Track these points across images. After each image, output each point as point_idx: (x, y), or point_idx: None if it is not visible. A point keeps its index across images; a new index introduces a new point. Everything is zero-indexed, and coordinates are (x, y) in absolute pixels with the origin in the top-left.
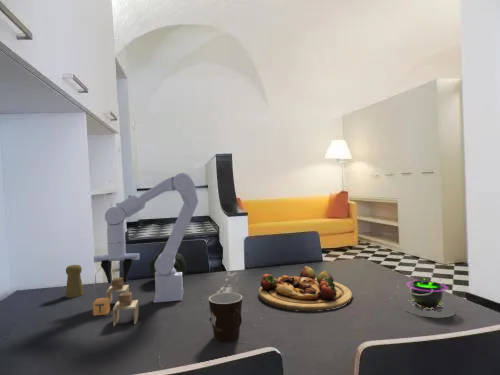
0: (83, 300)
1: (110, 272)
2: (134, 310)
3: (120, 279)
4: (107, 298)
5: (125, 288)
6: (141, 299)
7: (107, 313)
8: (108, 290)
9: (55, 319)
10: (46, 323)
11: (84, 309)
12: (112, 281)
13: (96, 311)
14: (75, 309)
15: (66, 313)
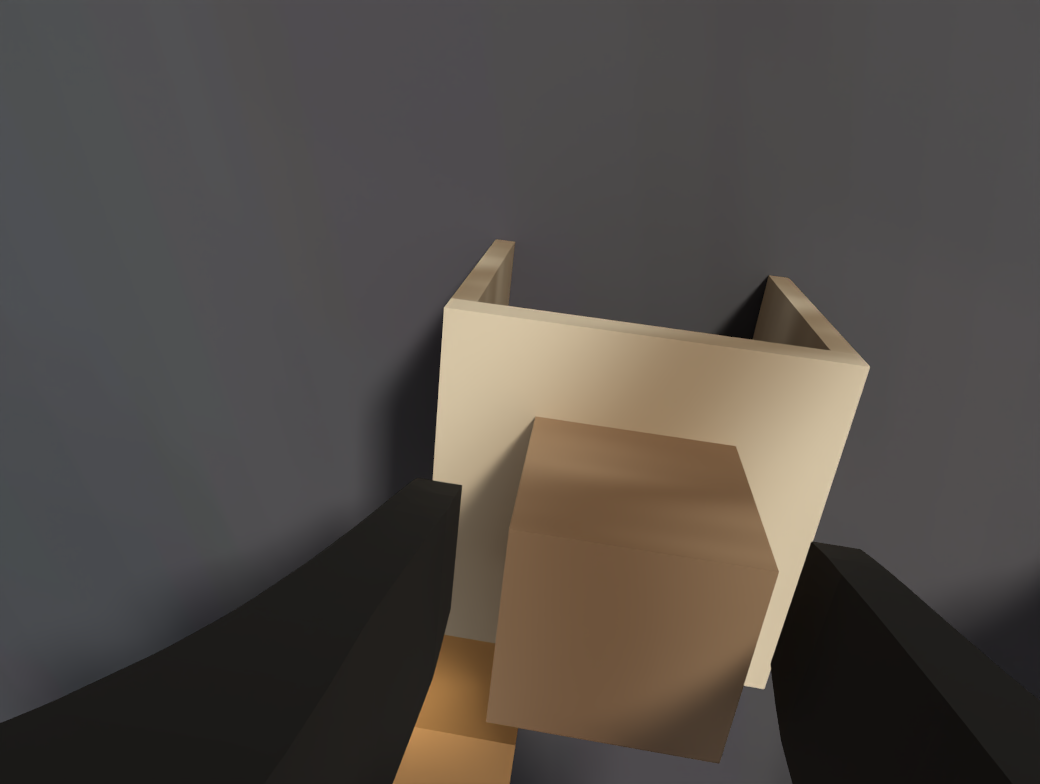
0: (35, 67)
1: (366, 713)
2: None
3: (699, 721)
4: (487, 762)
5: (772, 616)
6: (982, 382)
7: None
8: (454, 606)
9: (36, 660)
10: (7, 717)
11: (216, 492)
12: (502, 703)
13: None
14: (103, 451)
15: (61, 543)
